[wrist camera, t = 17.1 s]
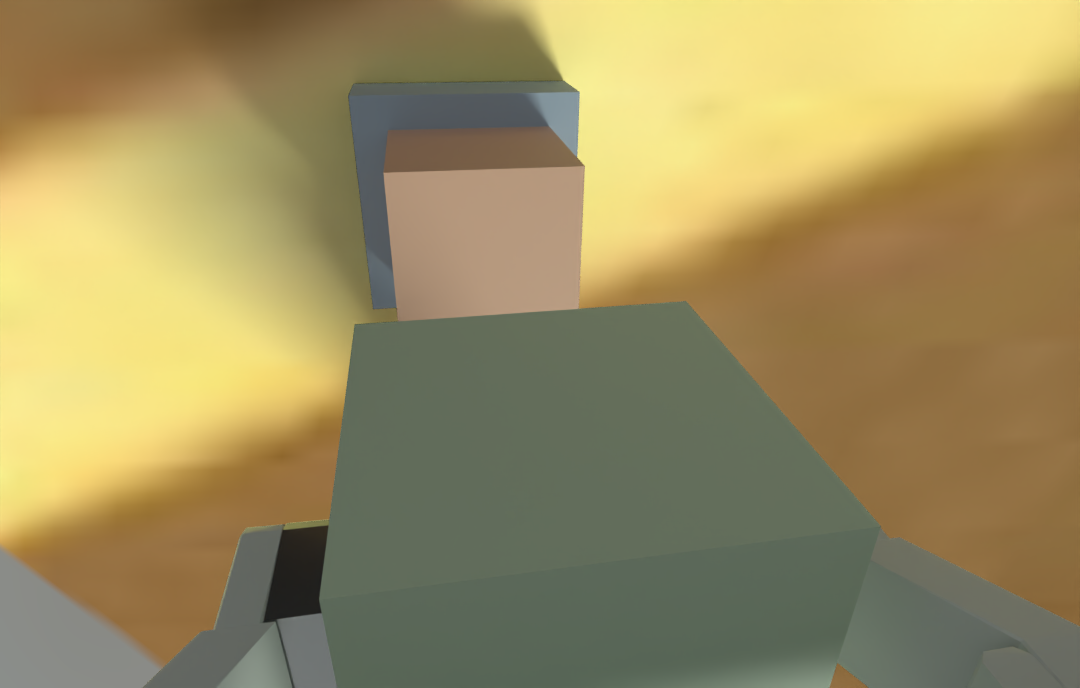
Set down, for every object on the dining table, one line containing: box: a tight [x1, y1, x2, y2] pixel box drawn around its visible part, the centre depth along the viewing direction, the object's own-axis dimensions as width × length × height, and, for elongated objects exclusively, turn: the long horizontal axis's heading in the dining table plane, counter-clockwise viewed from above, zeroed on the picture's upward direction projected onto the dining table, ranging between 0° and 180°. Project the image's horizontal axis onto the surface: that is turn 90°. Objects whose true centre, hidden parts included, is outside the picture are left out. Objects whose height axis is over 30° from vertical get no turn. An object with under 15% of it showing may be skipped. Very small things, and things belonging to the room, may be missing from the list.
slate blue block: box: [348, 81, 580, 309], centre depth 24 cm, size 7×7×2 cm
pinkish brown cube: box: [383, 126, 585, 321], centre depth 20 cm, size 5×5×5 cm
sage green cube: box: [319, 301, 881, 688], centre depth 9 cm, size 5×5×5 cm
